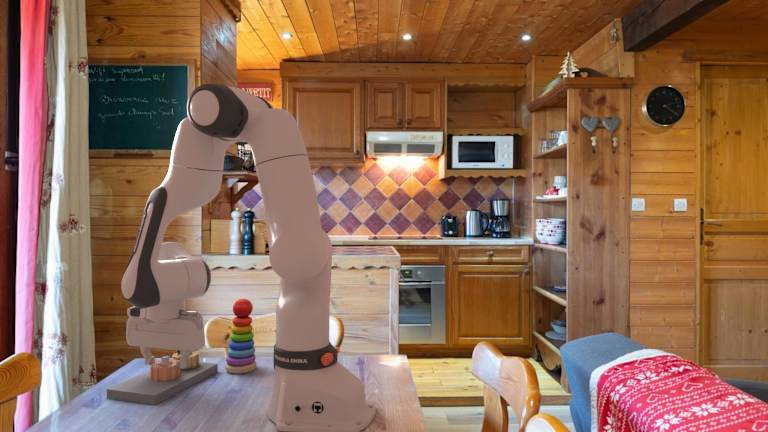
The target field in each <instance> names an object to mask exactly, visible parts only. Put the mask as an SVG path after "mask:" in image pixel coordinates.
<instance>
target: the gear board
mask: <svg viewBox="0 0 768 432" xmlns="http://www.w3.org/2000/svg"><path fill="white" fill-rule="evenodd" d="M160 359H161V360H160V361H161V366H167V365H170V360H171V359H170V356H168V355H167V356H166V355H165V356H162V357H161V358H160ZM218 366H219V365H218V363H213V362H207V361H206V362H205V361H204V362H203V361H200V365H199V366H196V368H190V369H187V370H183V369H181V374H180V376H179V377H175V378H174V379H168V380H166V381H162V380H158V381H154V379H152V380H151V379H150V370H149V371H145V372H143V373H141V374H139V375H136V376H134V377H132V378H129V379H127V380H125V381H122V382H120V383H118V384H116V385H113V386H111V387H109V388H108V387H107V388H106V399H112V400H117V401H126V402H132V403H137V404H146V405H151V406H152V405H153V406H154V405H155V406H156V405H157V404H159V403H161V402H163V401H164V400H167V399H168V398H170V397H173V396H174V395H176V394H178V393H180V392H182V391H183V390H185V389H187V388H189V387H191V386H193V385H195V384H197V383H199V382H200V381H203V380H204V379H207V378H208V377H209V376H212V375H213V374H216V373H218V371H219V367H218Z"/></svg>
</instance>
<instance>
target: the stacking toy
mask: <svg viewBox="0 0 768 432" xmlns="http://www.w3.org/2000/svg"><path fill="white" fill-rule="evenodd" d="M253 309H254V308H253V303H252V302H251V300H249V299H248V298H240V299H238V300H236V301H235V302H234V303H233V305H232V312H233V314H234V317H233V318H232V320H231V321H232V324H233V325H232V326H231V327H230V331H231V332H232V333H230V335H229V336H230V337H229V338H230V340H229V342H228V347H229V348H228V350H227V355H226V358H225V362H226V363H225V366H224V369H225V371H226V372H228V373H230V374H236V375H237V374H245V373H246V374H247V373H250V372H253V371H254V370H256V368H257V367H258V366H257V364H258V363H257V361H256V354H255V353H256V347H255V340H254V332H253V325H252V323H253V317H251V316H250V315H251V314H252V312H253Z"/></svg>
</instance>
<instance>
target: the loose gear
mask: <svg viewBox="0 0 768 432" xmlns="http://www.w3.org/2000/svg"><path fill="white" fill-rule="evenodd" d="M176 361H177V360H175V359H173V360H172V359H170V365H167V366H161V360H158V361H155V363H152V364H151V365H149V369H150V370H149V371H150V379H151V380H152V379H154V381H158V380H162V381H166V380H168V379H174V378H175V377H179V376H180V374H181V369H179V368H177V367H176V366H177V364H176Z"/></svg>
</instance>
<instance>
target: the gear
mask: <svg viewBox="0 0 768 432" xmlns="http://www.w3.org/2000/svg"><path fill="white" fill-rule="evenodd" d="M181 357H182V355H180V350H176V353H173V354H172V356H171V360H173V359H175V360H177V361H179V360H180V359H181ZM200 362H201V351H200V350H198V351H195V352H191V353H190V355H189V357H188V359H187V366H186V367H185V368H183V370H187V369H190V368H196V366H199V365H200Z"/></svg>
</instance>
